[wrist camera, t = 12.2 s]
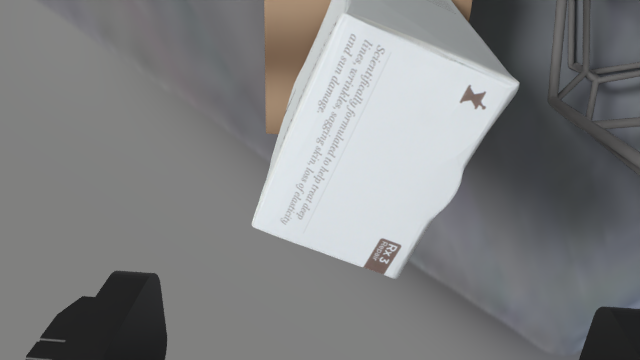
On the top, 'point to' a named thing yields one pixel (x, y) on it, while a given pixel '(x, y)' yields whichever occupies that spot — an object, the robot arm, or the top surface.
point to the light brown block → (295, 48)
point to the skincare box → (380, 129)
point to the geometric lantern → (594, 128)
